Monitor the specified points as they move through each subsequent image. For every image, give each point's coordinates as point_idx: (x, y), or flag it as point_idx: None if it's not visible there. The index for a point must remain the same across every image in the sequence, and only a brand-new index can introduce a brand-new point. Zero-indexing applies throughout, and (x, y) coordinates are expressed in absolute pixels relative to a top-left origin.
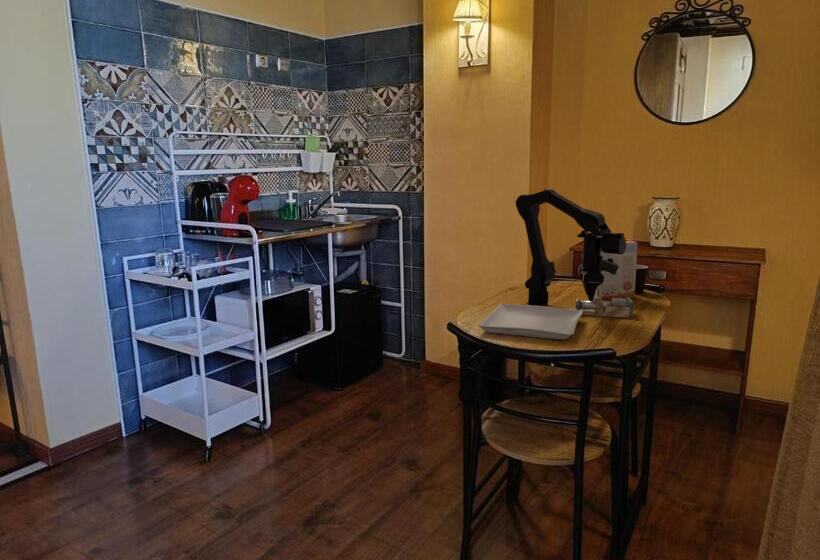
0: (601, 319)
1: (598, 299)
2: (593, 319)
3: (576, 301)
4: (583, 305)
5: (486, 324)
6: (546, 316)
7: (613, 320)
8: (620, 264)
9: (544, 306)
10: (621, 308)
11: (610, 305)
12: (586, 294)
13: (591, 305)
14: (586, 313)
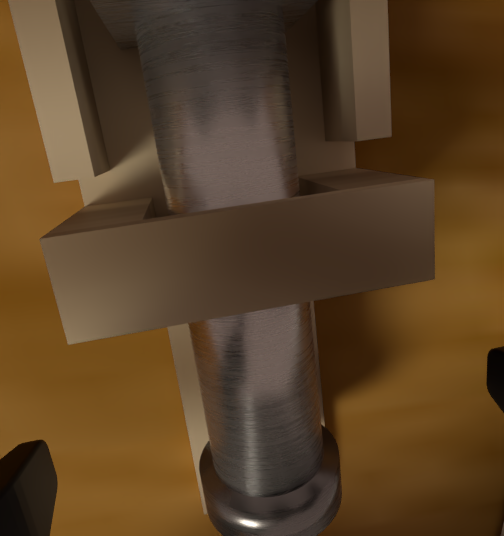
0: (459, 175)
1: (276, 265)
2: (469, 251)
3: (332, 519)
4: (319, 412)
5: None
6: None
7: (482, 46)
8: None
9: None
10: None
11: (285, 58)
12: (55, 484)
13: (311, 325)
14: (315, 333)
